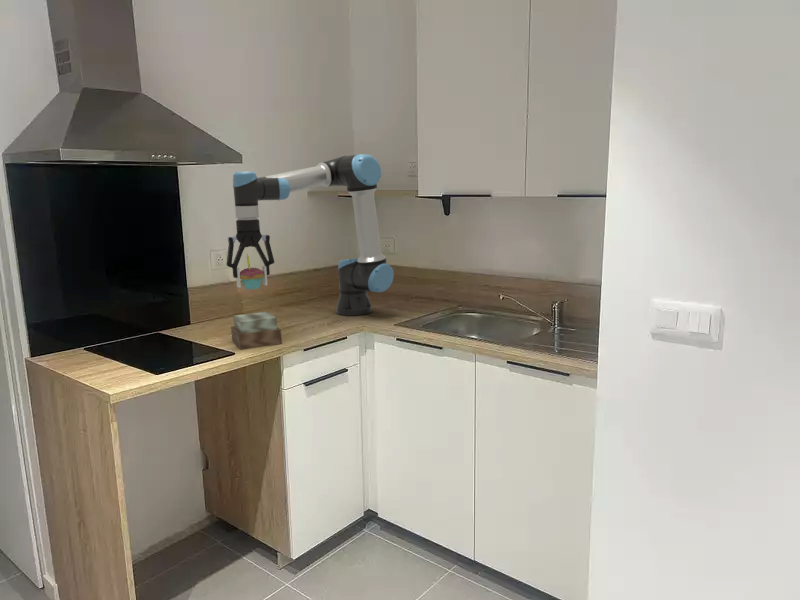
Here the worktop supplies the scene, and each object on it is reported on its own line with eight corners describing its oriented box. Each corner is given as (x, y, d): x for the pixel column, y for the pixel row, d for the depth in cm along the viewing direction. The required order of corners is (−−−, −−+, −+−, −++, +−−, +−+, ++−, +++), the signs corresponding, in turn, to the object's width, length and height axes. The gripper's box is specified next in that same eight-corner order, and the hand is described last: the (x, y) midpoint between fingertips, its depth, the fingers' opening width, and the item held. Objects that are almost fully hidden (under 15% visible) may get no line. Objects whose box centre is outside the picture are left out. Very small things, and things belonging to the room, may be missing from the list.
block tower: (271, 335, 209) (269, 310, 208) (281, 343, 197) (280, 317, 195) (232, 340, 203) (230, 315, 202) (240, 349, 191) (238, 323, 189)
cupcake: (258, 290, 192) (256, 254, 189) (235, 290, 193) (232, 254, 191) (269, 286, 200) (267, 251, 198) (246, 286, 202) (244, 251, 199)
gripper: (275, 217, 200) (279, 281, 204) (213, 220, 191) (218, 287, 195) (281, 218, 194) (285, 284, 198) (216, 220, 184) (222, 290, 189)
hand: (252, 285), depth 197 cm, fingers closed on cupcake, 8 cm apart
